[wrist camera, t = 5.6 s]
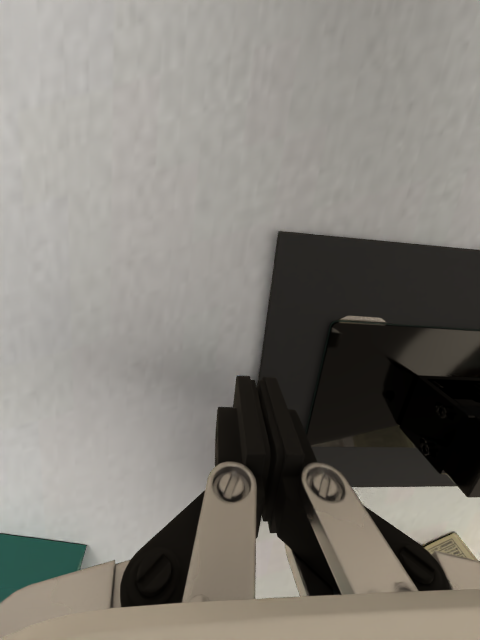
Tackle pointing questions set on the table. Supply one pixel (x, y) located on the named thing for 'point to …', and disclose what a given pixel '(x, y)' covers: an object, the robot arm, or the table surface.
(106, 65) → the table surface
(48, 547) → the bracket
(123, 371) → the table surface
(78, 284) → the table surface
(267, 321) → the desk mat
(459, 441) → the build plate
